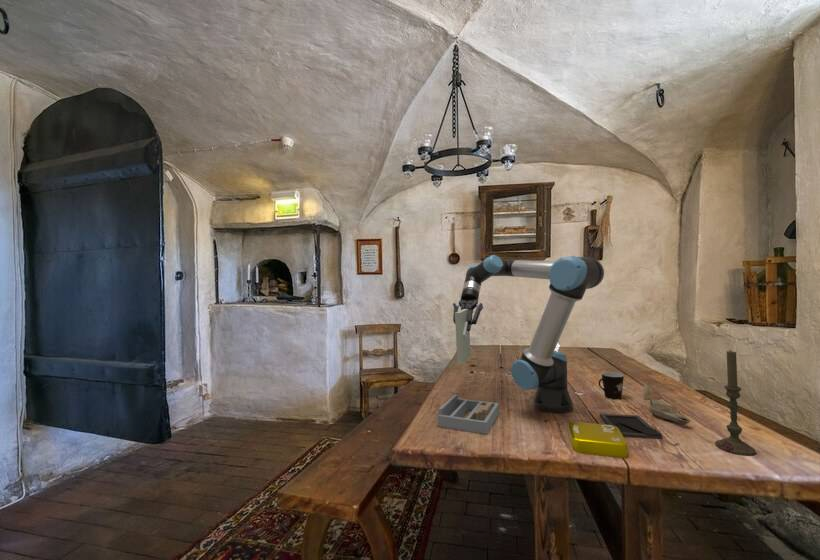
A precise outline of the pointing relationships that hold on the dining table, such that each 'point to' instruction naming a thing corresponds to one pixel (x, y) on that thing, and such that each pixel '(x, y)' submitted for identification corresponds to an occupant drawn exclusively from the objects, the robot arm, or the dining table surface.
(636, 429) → the picture frame
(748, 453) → the candlestick holder
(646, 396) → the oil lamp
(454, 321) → the robot arm
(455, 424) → the offcut rack
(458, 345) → the sage hardboard sheet
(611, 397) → the coffee mug
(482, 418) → the pine offcut stack
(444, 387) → the dining table surface
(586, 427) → the element tile
